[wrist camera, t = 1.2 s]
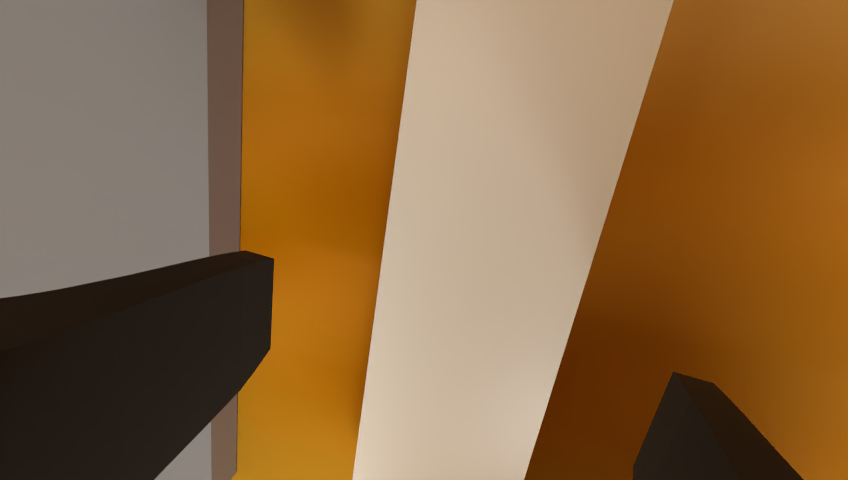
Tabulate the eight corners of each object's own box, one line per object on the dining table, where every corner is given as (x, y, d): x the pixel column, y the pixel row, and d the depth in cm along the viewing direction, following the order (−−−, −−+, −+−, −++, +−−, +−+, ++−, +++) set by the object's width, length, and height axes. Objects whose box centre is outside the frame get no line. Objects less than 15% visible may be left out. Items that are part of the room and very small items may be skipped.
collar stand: (236, 472, 21) (173, 550, 18) (-4, 380, 23) (-96, 434, 20) (248, -351, 11) (117, -500, 8) (-159, -360, 14) (-382, -478, 11)
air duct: (493, 536, 18) (469, 662, 15) (383, 495, 19) (333, 604, 15) (721, -228, 10) (799, -386, 6) (507, -242, 11) (463, -387, 7)
